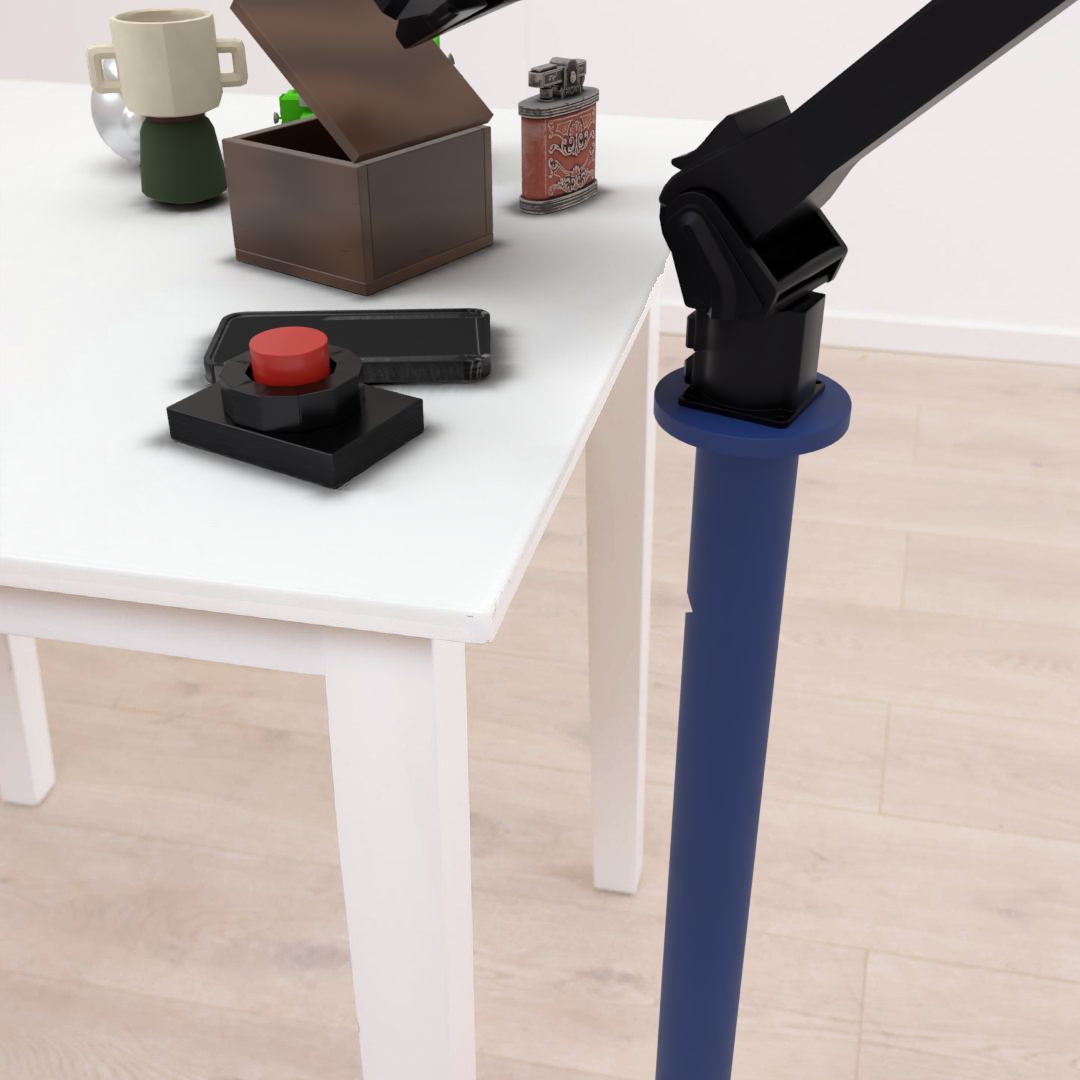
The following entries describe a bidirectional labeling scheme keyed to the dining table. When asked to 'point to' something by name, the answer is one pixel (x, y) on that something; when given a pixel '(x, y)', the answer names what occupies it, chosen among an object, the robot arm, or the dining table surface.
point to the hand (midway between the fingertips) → (403, 41)
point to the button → (289, 356)
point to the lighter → (558, 137)
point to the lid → (362, 74)
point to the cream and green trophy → (171, 95)
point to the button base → (299, 420)
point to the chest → (357, 204)
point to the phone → (375, 340)
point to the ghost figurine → (116, 120)
